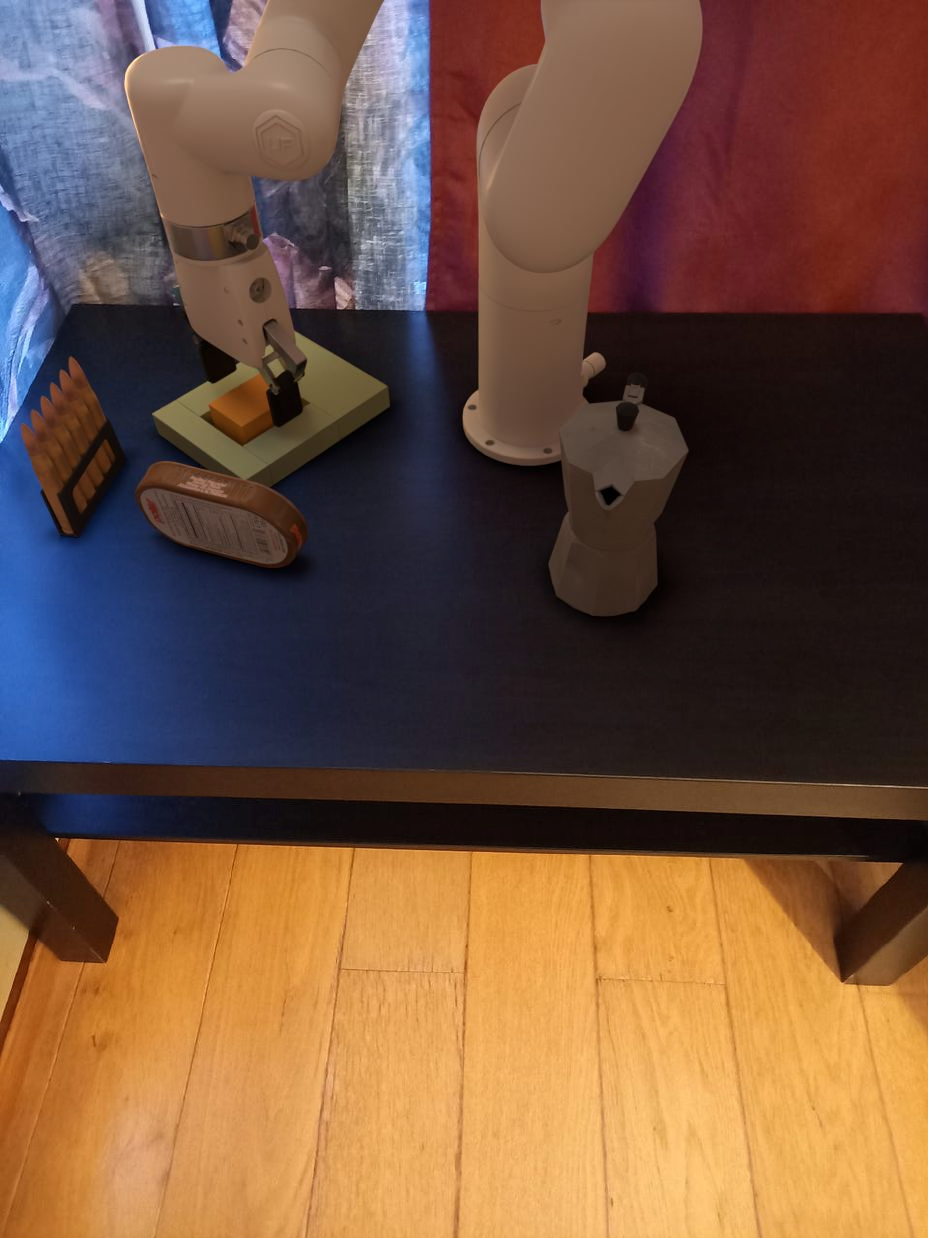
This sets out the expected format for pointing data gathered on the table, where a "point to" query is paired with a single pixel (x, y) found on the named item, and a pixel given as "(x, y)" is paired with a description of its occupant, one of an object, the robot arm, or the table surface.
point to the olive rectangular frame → (329, 414)
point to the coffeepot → (614, 501)
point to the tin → (221, 514)
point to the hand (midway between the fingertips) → (254, 397)
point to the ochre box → (243, 411)
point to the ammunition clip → (72, 451)
